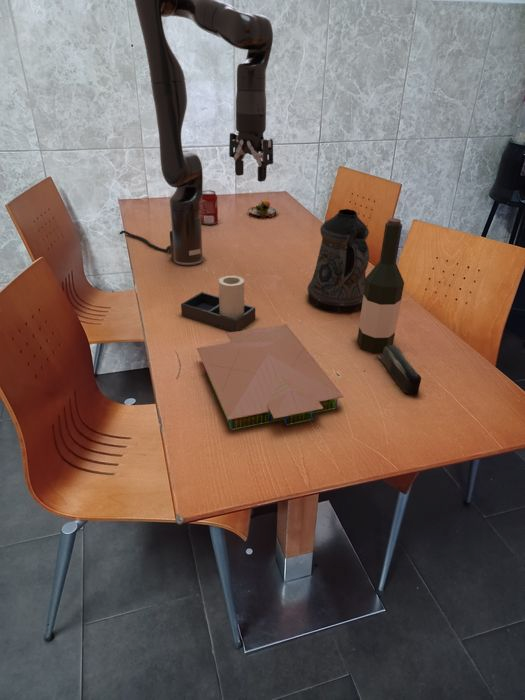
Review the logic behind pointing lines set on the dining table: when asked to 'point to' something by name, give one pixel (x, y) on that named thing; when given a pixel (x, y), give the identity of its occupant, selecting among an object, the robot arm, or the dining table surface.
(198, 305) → the tray
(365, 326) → the wine bottle
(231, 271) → the dining table surface
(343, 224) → the beer stein
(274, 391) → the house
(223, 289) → the jar
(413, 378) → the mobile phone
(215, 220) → the soda can
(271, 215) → the plate of food
